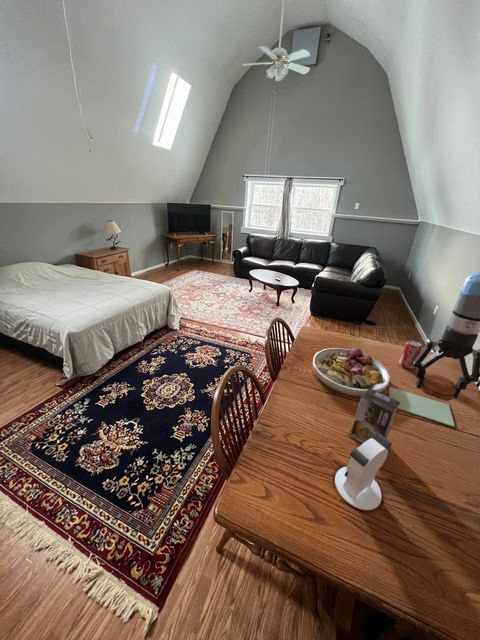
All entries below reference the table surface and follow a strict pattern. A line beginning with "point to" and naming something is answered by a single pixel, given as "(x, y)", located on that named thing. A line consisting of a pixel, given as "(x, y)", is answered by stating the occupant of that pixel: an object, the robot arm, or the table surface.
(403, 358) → the beverage can
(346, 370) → the bowl
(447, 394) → the burger
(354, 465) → the white oval-base stand
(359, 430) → the coffee box
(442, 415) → the mat
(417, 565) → the table surface
